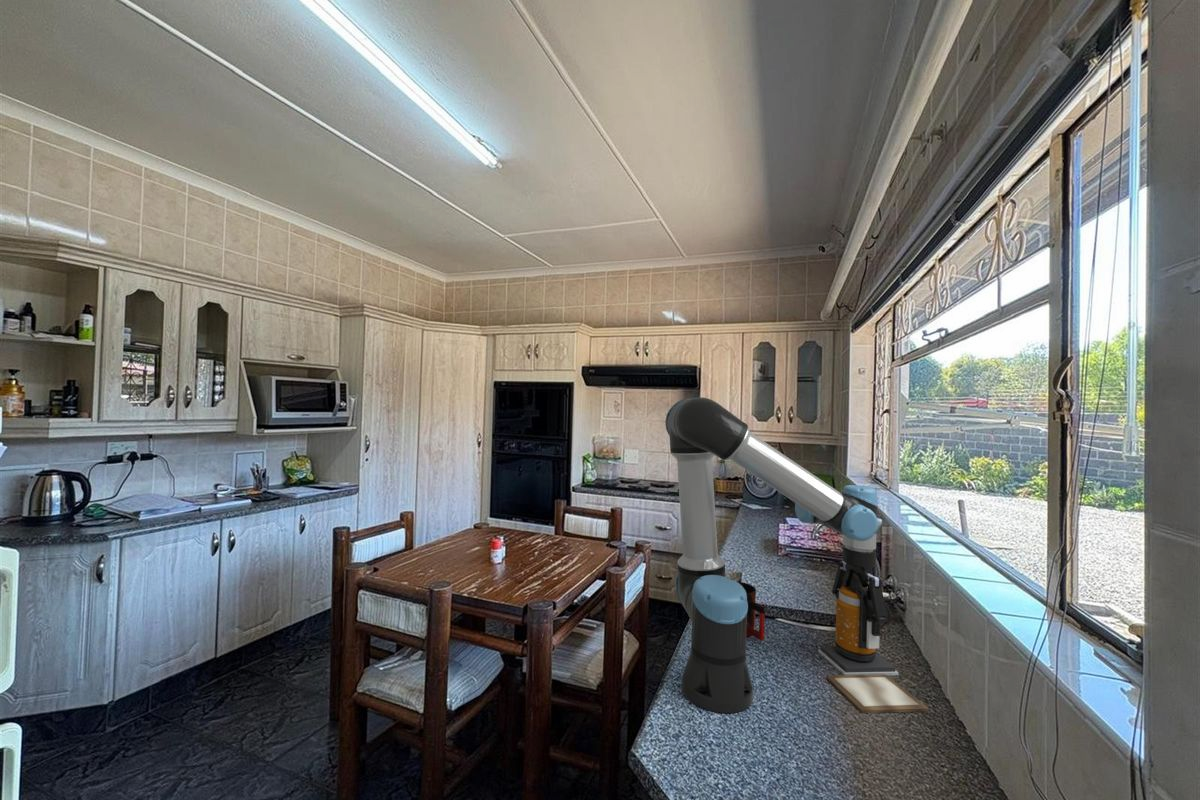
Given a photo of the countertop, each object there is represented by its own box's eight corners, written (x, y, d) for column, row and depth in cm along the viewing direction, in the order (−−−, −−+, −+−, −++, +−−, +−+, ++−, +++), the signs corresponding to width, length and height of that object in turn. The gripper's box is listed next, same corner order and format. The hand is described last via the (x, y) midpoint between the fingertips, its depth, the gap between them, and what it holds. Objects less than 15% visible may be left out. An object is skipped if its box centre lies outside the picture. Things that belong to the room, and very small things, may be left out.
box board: (862, 713, 99) (862, 709, 99) (826, 678, 112) (826, 675, 112) (929, 711, 100) (929, 708, 100) (885, 677, 113) (885, 674, 113)
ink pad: (845, 676, 113) (845, 669, 113) (817, 651, 125) (818, 645, 125) (898, 675, 114) (898, 668, 114) (866, 651, 126) (867, 644, 126)
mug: (763, 646, 127) (764, 600, 127) (713, 630, 135) (715, 587, 135) (774, 633, 134) (775, 590, 135) (727, 619, 143) (728, 578, 143)
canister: (865, 647, 125) (867, 570, 125) (886, 669, 114) (888, 584, 114) (829, 644, 126) (831, 567, 126) (847, 666, 115) (849, 582, 115)
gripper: (907, 562, 109) (905, 660, 108) (844, 536, 132) (843, 616, 132) (876, 562, 108) (874, 660, 108) (819, 535, 132) (817, 616, 131)
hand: (857, 636), depth 120 cm, fingers closed on canister, 11 cm apart
